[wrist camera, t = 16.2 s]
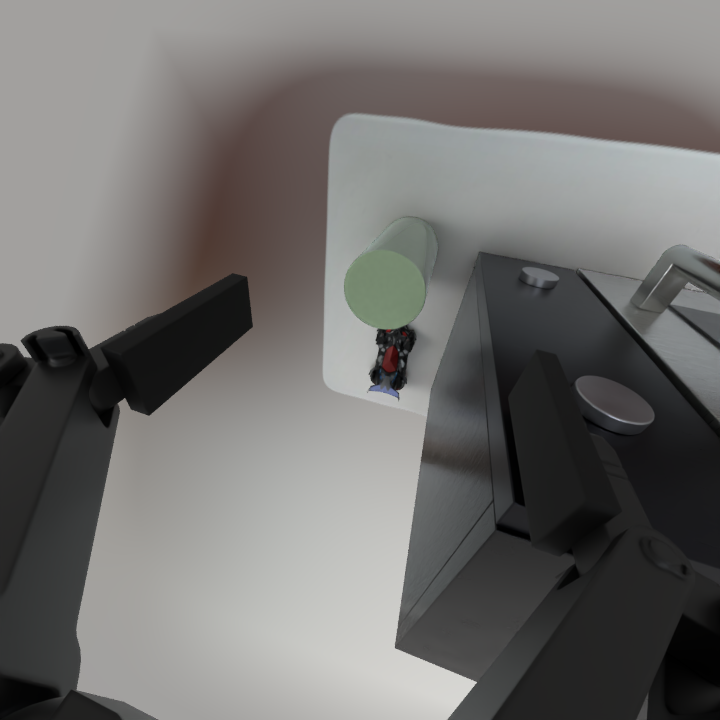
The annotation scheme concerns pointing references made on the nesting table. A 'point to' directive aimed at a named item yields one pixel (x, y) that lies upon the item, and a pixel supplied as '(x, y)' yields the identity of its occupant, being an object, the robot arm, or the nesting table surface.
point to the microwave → (501, 468)
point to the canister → (393, 274)
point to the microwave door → (673, 321)
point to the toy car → (391, 360)
